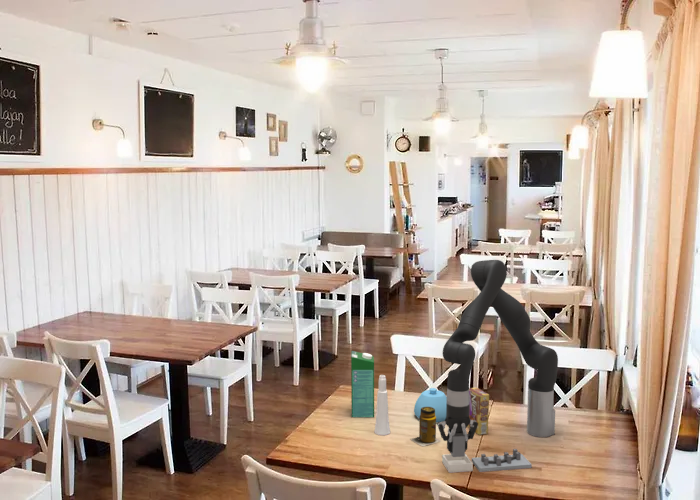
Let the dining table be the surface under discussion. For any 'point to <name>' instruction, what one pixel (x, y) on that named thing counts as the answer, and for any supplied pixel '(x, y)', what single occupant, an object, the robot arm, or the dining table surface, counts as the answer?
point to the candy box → (479, 409)
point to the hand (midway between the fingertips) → (457, 451)
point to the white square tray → (457, 463)
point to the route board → (501, 462)
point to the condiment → (426, 427)
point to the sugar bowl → (432, 403)
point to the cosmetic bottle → (382, 409)
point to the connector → (458, 445)
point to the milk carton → (362, 384)
